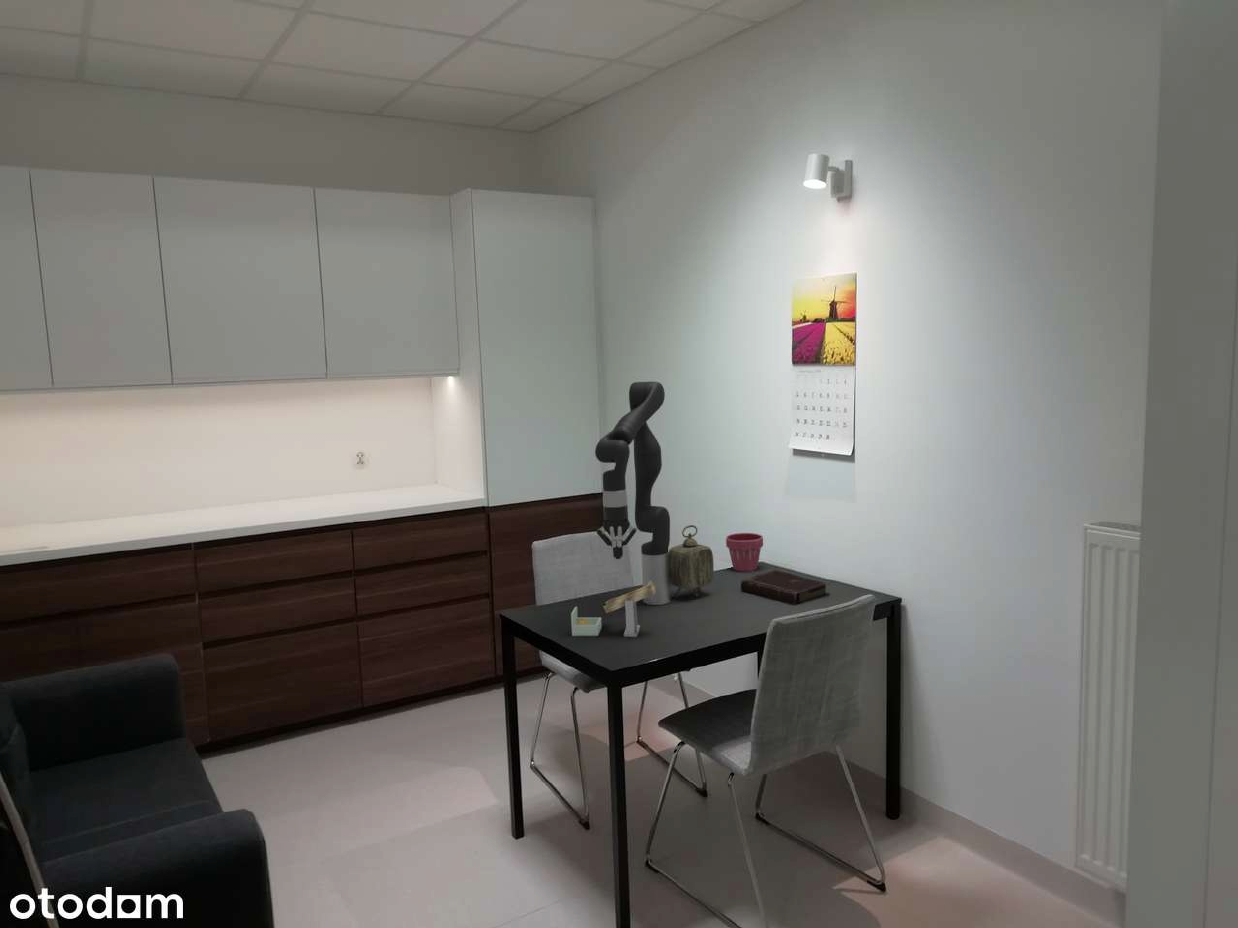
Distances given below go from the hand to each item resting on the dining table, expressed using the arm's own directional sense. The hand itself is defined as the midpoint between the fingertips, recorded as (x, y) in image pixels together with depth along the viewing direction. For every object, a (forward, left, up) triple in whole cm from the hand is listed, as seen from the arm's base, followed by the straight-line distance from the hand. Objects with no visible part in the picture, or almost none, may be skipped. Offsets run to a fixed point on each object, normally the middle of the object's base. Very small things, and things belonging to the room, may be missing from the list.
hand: (618, 558), depth 279 cm
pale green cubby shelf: (+7, -10, -22) cm, 25 cm away
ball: (+7, -11, -20) cm, 24 cm away
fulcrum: (+7, +4, -22) cm, 23 cm away
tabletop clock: (-33, +21, -22) cm, 45 cm away
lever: (+4, +4, -12) cm, 13 cm away
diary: (-36, +53, -22) cm, 68 cm away
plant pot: (-71, +40, -22) cm, 84 cm away
